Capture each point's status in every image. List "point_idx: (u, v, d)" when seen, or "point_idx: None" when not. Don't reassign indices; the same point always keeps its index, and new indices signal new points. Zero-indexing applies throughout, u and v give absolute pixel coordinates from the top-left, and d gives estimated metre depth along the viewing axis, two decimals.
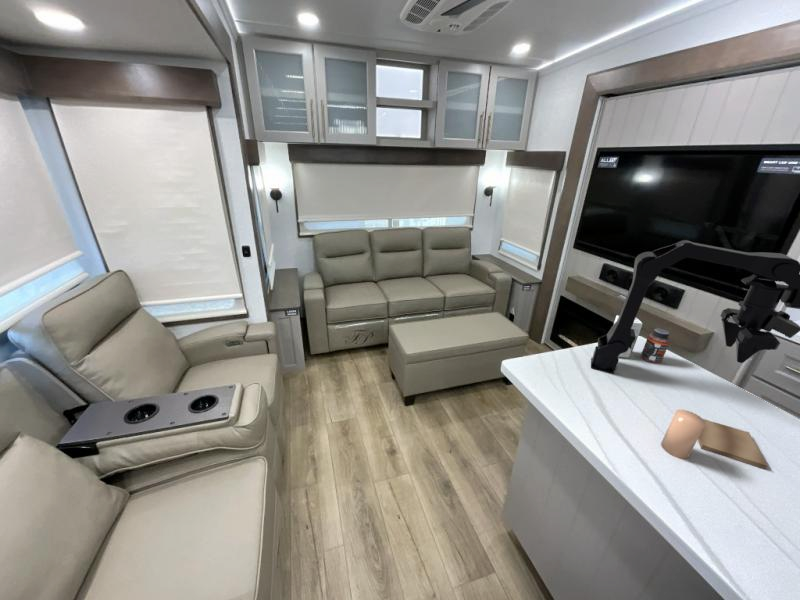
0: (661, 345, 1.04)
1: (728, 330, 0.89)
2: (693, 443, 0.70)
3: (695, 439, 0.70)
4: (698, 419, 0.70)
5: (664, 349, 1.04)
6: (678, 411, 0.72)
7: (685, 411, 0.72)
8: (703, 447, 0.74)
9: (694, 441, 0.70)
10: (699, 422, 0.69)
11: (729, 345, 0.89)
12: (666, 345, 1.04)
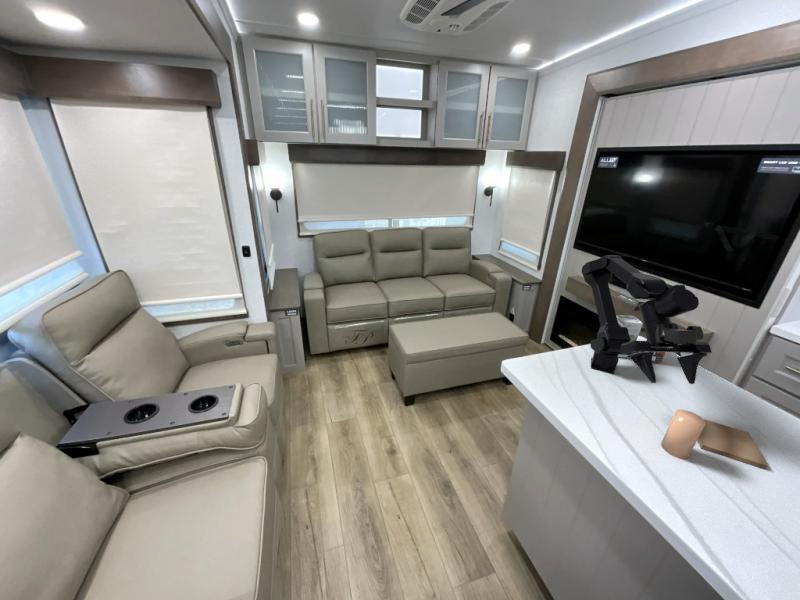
0: None
1: (683, 365, 0.79)
2: (693, 443, 0.70)
3: (695, 439, 0.70)
4: (698, 419, 0.70)
5: None
6: (678, 411, 0.72)
7: (685, 411, 0.72)
8: (703, 447, 0.74)
9: (694, 441, 0.70)
10: (699, 422, 0.69)
11: (691, 382, 0.76)
12: None
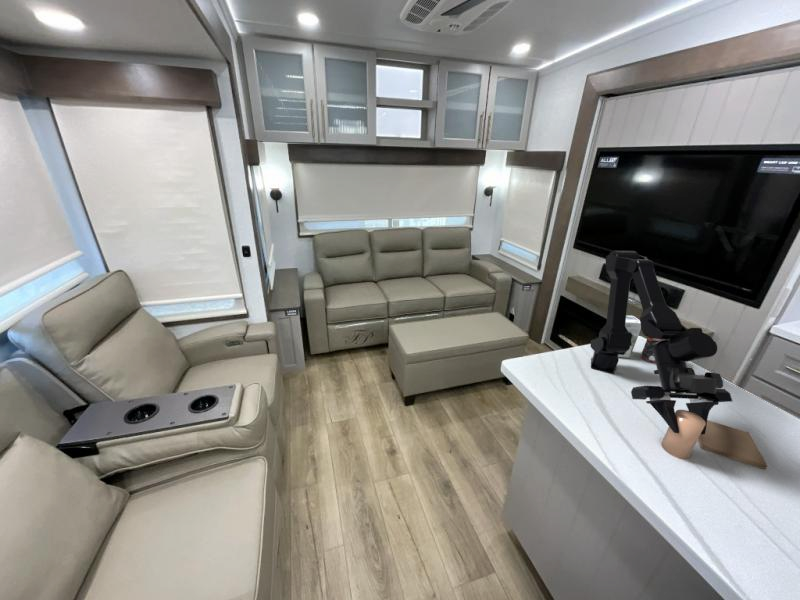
0: None
1: None
2: (693, 443, 0.70)
3: (695, 439, 0.70)
4: (698, 419, 0.70)
5: None
6: (678, 411, 0.72)
7: (685, 411, 0.72)
8: (703, 447, 0.74)
9: (694, 441, 0.70)
10: (699, 422, 0.69)
11: (702, 433, 0.70)
12: None
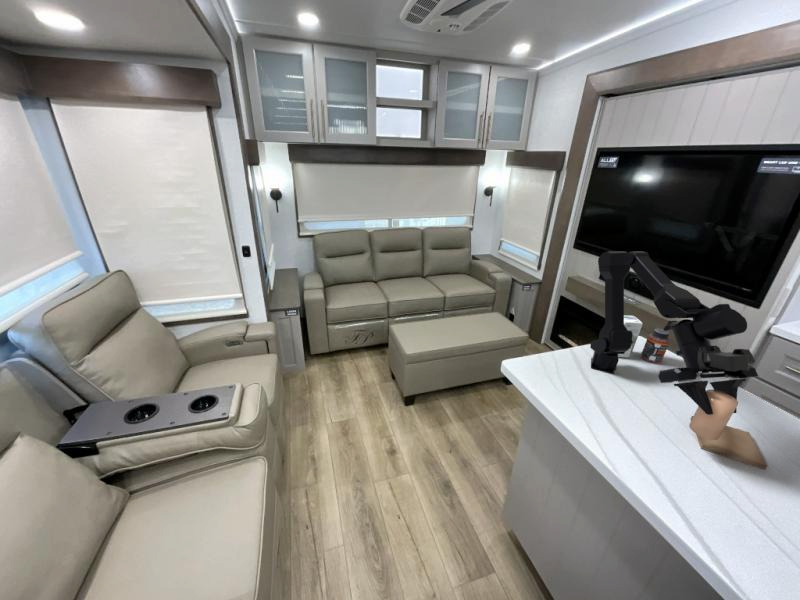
0: (661, 345, 1.04)
1: None
2: (726, 423, 0.68)
3: (728, 419, 0.67)
4: (729, 398, 0.68)
5: (664, 349, 1.04)
6: (708, 392, 0.70)
7: (714, 391, 0.70)
8: (703, 447, 0.74)
9: (727, 421, 0.68)
10: (732, 401, 0.67)
11: None
12: (666, 345, 1.04)
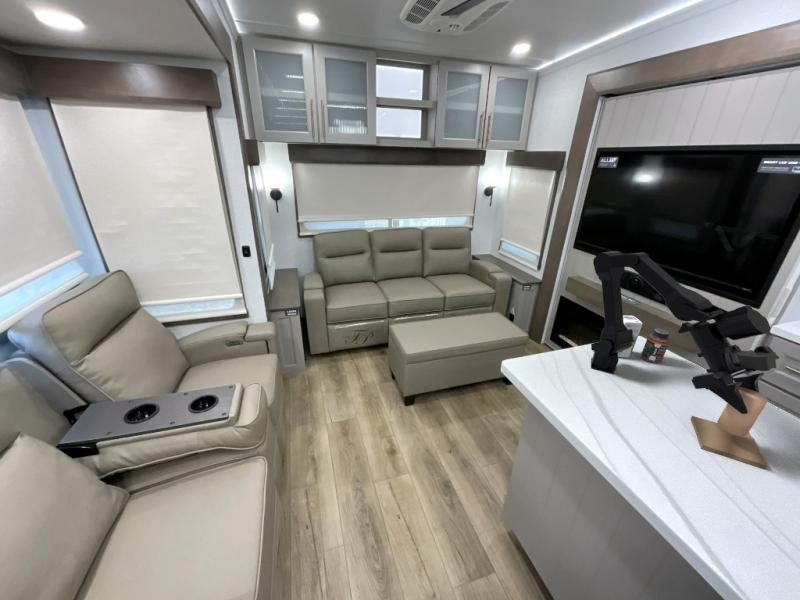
0: (661, 345, 1.04)
1: None
2: (756, 419, 0.71)
3: (759, 414, 0.70)
4: (757, 394, 0.71)
5: (664, 349, 1.04)
6: None
7: (740, 388, 0.72)
8: (703, 447, 0.74)
9: (758, 416, 0.70)
10: (761, 397, 0.70)
11: None
12: (666, 345, 1.04)
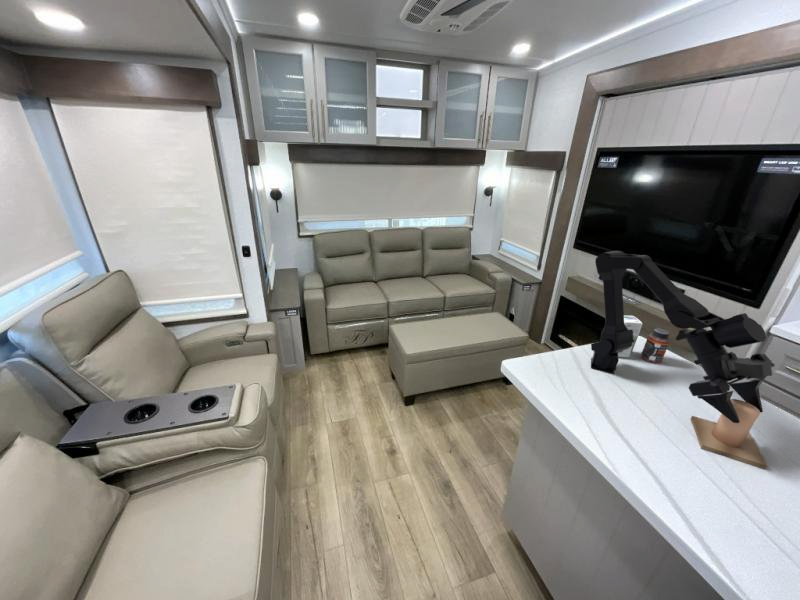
0: (661, 345, 1.04)
1: (741, 392, 0.76)
2: (749, 430, 0.72)
3: None
4: (749, 406, 0.72)
5: (664, 349, 1.04)
6: None
7: (733, 400, 0.74)
8: (703, 447, 0.74)
9: (750, 428, 0.72)
10: (753, 409, 0.71)
11: None
12: (666, 345, 1.04)
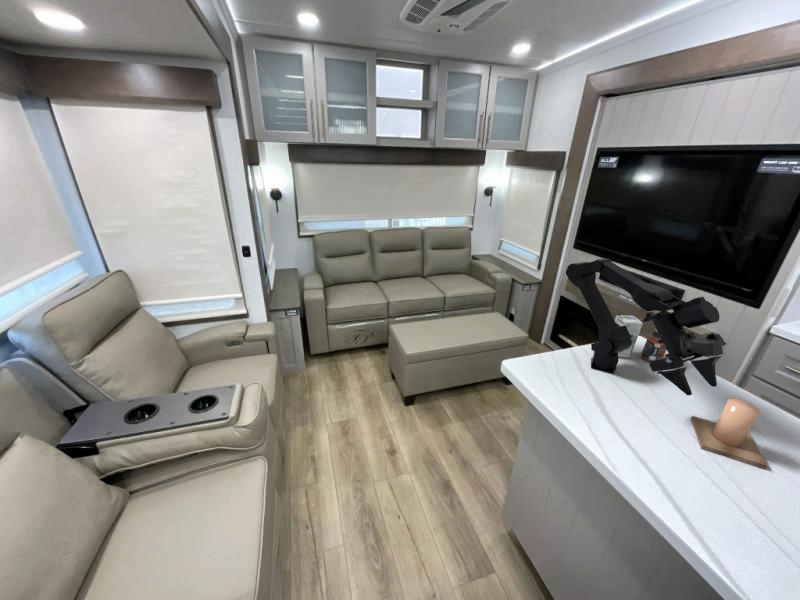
0: (661, 345, 1.04)
1: (699, 368, 0.83)
2: (749, 429, 0.72)
3: None
4: (749, 405, 0.72)
5: (664, 349, 1.04)
6: (730, 402, 0.73)
7: (733, 400, 0.74)
8: (703, 447, 0.74)
9: (750, 427, 0.72)
10: (753, 408, 0.71)
11: (714, 385, 0.81)
12: None
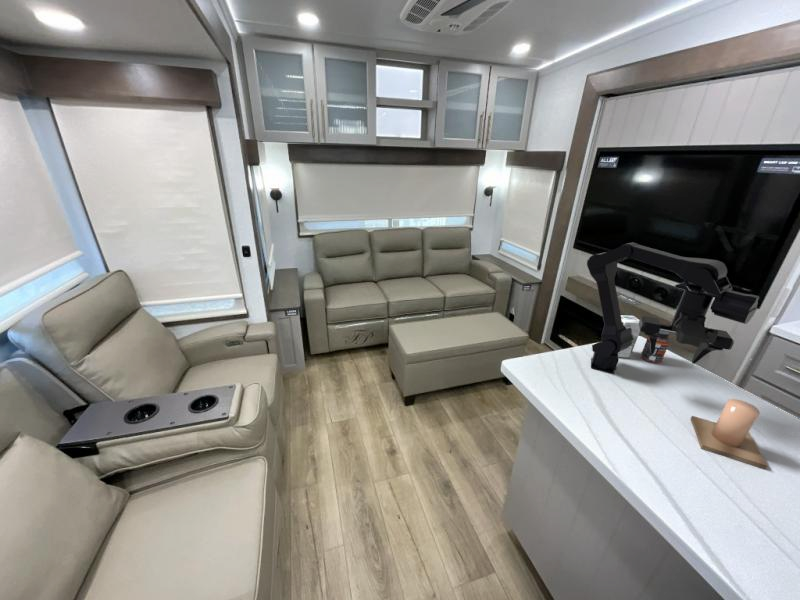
0: (661, 345, 1.04)
1: (700, 346, 0.84)
2: (749, 429, 0.72)
3: (751, 425, 0.72)
4: (749, 406, 0.72)
5: (664, 349, 1.04)
6: (730, 403, 0.73)
7: (733, 400, 0.74)
8: (703, 447, 0.74)
9: (750, 427, 0.72)
10: (753, 409, 0.71)
11: (693, 362, 0.85)
12: (666, 345, 1.04)
